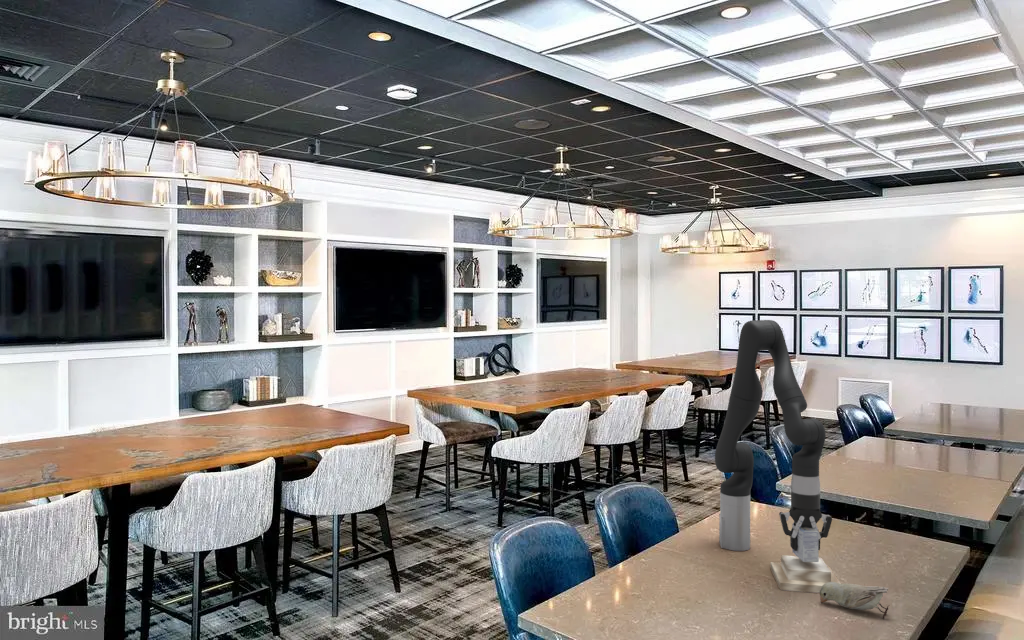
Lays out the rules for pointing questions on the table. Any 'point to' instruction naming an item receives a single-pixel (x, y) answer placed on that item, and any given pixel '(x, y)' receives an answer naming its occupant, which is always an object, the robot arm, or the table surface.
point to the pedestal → (801, 574)
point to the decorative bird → (853, 595)
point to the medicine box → (807, 545)
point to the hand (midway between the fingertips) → (805, 550)
